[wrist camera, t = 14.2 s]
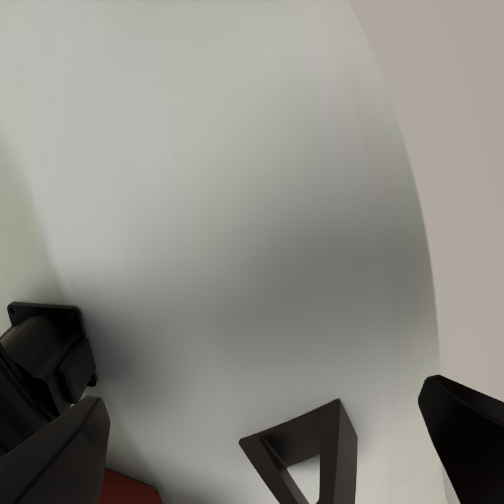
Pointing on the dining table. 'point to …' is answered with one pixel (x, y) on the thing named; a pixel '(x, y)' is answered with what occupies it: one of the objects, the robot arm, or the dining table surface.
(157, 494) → the plant pot
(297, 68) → the dining table surface
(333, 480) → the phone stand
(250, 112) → the dining table surface
